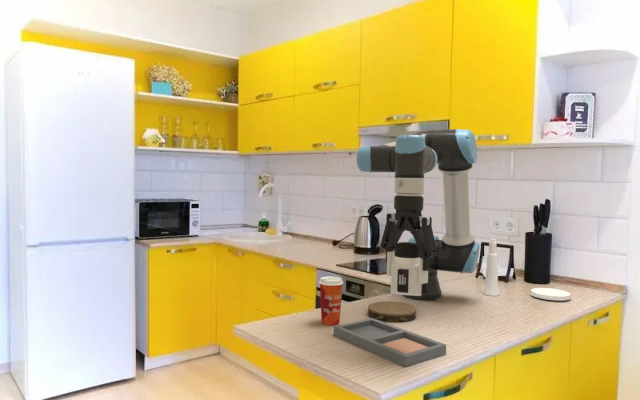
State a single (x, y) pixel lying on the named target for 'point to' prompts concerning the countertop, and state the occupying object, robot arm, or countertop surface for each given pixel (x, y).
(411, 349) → the two-bay tray
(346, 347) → the countertop surface
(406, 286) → the container
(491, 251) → the cosmetic bottle
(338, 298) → the paper cup
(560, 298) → the plastic lid
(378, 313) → the brown disc
